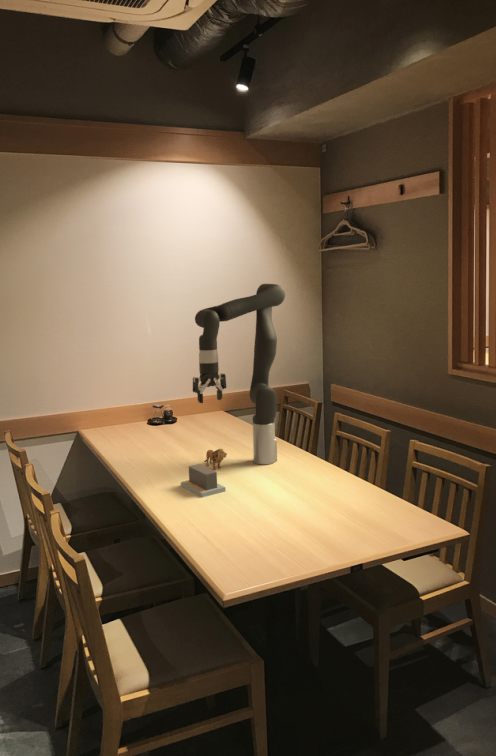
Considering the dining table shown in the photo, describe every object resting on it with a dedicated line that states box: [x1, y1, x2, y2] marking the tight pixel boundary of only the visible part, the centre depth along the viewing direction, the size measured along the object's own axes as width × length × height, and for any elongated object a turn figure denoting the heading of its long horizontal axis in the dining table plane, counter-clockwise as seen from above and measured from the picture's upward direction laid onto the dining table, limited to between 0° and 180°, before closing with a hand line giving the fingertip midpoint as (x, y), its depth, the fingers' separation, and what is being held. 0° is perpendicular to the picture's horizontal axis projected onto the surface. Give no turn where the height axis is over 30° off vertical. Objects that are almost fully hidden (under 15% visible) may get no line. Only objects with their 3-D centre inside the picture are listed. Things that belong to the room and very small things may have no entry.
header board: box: [180, 479, 226, 498], centre depth 244 cm, size 10×16×6 cm, turn 35°
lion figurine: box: [203, 448, 228, 471], centre depth 270 cm, size 15×5×9 cm, turn 38°
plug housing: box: [188, 463, 218, 490], centre depth 244 cm, size 5×13×6 cm, turn 35°
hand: (210, 401), depth 256 cm, fingers open, 8 cm apart
